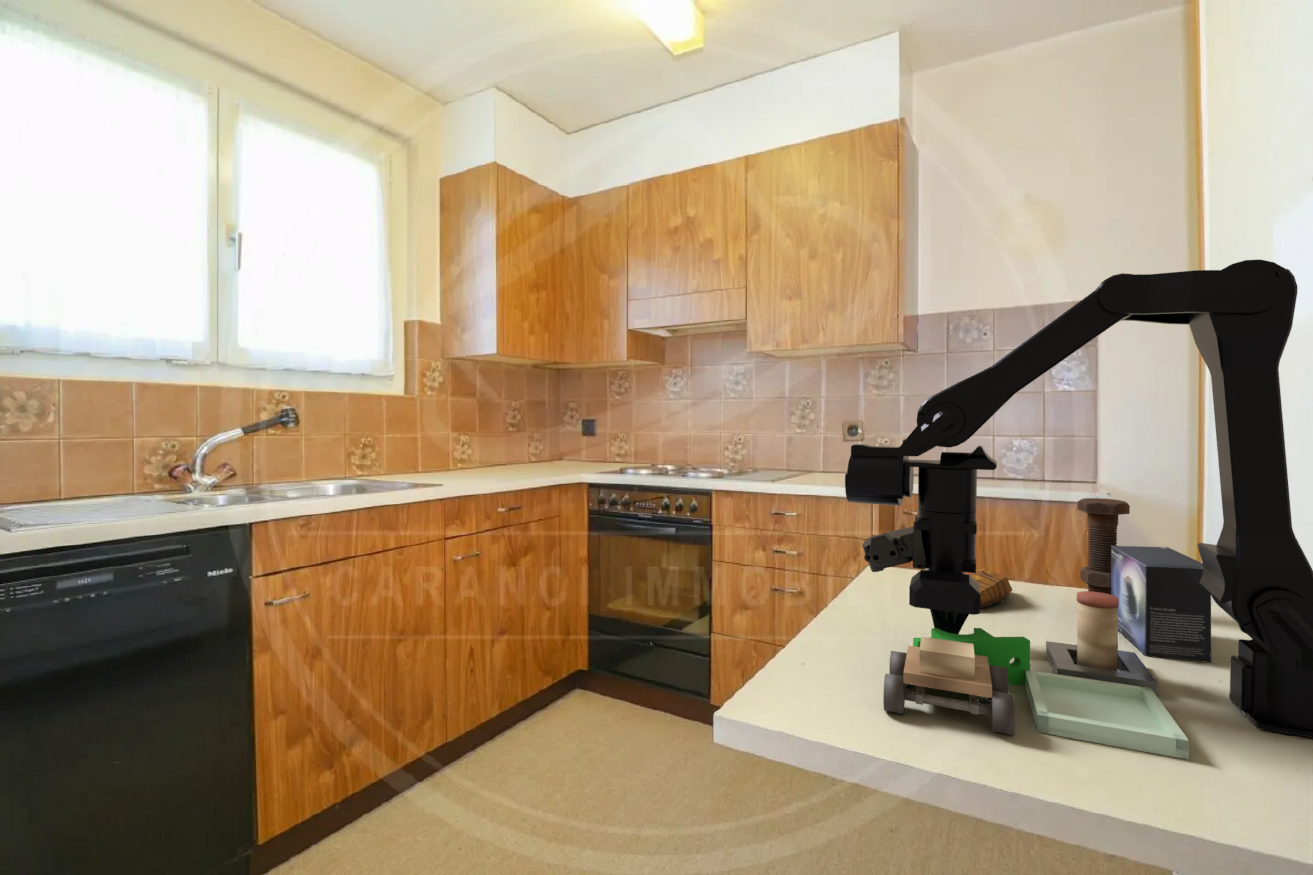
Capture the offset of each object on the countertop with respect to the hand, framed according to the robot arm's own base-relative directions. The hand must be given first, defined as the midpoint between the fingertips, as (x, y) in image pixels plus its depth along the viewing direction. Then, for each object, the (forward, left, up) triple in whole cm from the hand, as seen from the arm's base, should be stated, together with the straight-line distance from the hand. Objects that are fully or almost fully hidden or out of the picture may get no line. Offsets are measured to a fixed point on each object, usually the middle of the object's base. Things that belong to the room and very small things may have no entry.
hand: (944, 649), depth 66 cm
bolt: (-19, -28, -1) cm, 34 cm away
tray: (-12, +8, -1) cm, 15 cm away
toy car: (0, +11, -1) cm, 11 cm away
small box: (-22, -16, -2) cm, 27 cm away
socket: (-14, -3, -1) cm, 15 cm away
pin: (-14, -3, -1) cm, 15 cm away
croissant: (-5, -26, -2) cm, 26 cm away
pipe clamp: (-2, +4, -2) cm, 5 cm away
